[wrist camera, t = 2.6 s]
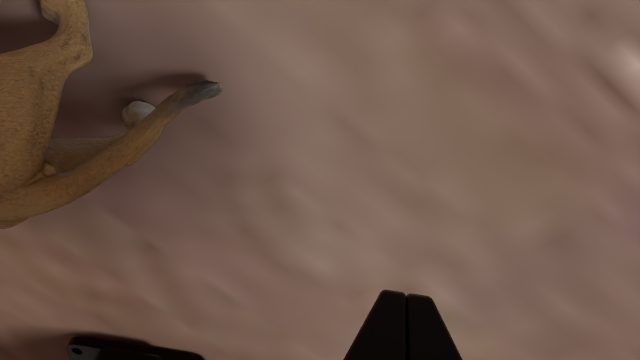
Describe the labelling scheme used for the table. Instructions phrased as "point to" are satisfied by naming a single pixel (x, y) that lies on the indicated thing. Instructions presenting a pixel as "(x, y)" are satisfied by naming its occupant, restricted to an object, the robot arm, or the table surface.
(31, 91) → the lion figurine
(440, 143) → the table surface
